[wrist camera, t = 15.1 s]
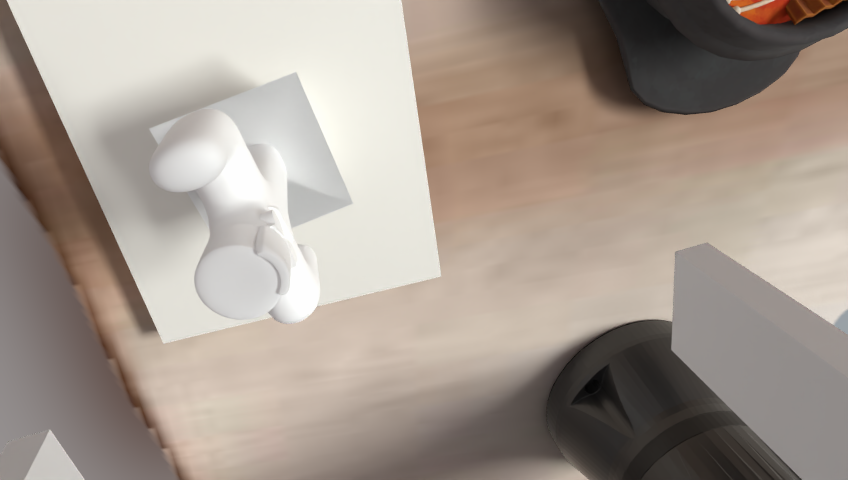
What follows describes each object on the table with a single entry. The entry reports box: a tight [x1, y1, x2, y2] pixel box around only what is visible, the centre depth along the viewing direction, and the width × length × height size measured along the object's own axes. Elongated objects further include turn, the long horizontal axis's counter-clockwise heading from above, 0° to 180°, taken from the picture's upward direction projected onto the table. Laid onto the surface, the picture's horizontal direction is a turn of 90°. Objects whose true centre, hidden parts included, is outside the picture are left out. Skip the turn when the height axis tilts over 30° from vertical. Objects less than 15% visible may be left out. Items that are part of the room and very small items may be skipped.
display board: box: [7, 0, 441, 344], centre depth 31 cm, size 22×18×2 cm
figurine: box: [149, 72, 353, 324], centre depth 24 cm, size 7×9×15 cm
